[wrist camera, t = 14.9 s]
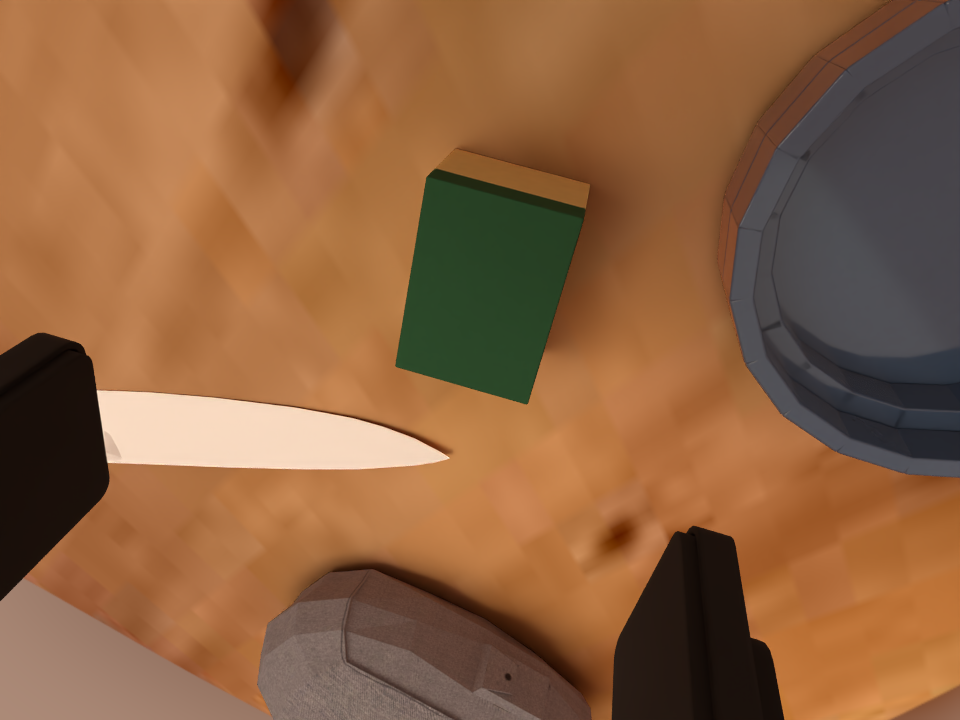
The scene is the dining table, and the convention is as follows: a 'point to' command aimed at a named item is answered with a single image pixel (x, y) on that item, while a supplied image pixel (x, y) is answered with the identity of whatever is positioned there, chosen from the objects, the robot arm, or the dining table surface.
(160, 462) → the knife
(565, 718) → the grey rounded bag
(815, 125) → the bowl
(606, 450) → the dining table surface
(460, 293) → the sponge
